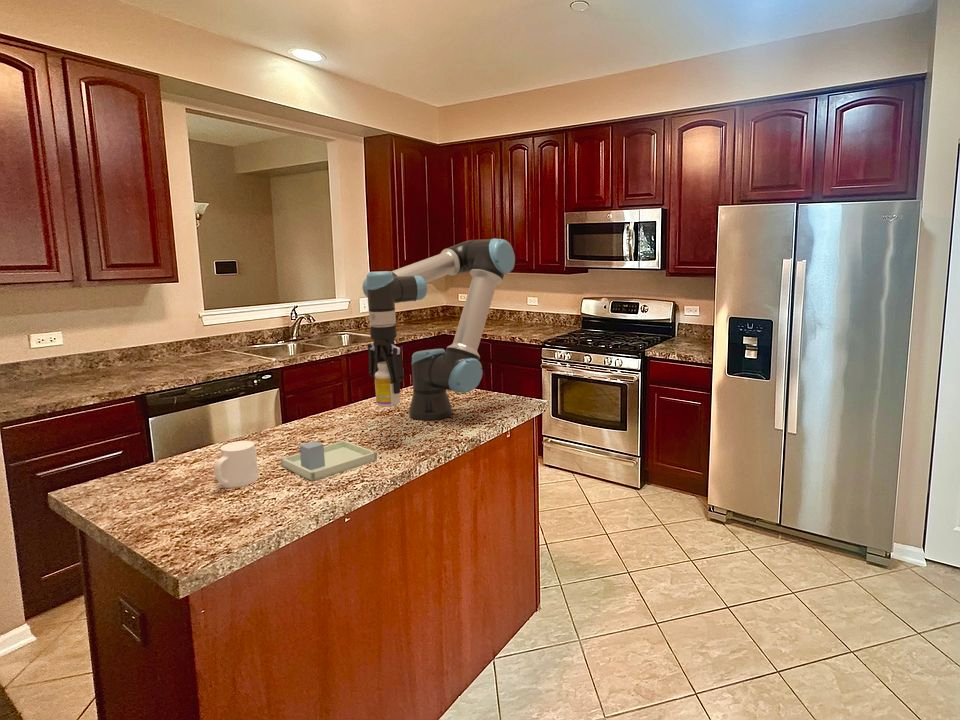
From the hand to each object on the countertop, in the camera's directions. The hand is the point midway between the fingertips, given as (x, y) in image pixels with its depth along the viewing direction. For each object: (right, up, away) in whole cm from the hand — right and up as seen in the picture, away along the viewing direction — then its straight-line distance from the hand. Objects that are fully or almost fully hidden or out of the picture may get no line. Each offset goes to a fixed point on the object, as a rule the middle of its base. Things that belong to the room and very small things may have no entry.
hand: (388, 401), depth 171 cm
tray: (-14, -16, -13) cm, 25 cm away
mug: (-34, -19, -26) cm, 47 cm away
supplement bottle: (0, -1, 0) cm, 1 cm away
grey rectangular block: (-17, -16, -17) cm, 29 cm away
